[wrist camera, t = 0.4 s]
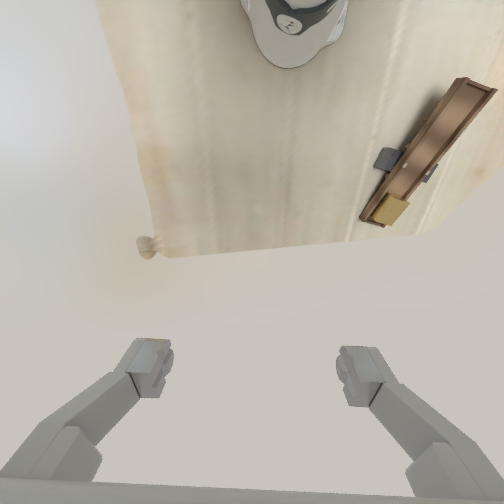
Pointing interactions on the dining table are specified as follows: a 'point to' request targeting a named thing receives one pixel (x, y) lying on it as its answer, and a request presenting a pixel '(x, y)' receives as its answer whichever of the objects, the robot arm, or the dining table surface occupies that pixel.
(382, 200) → the rider
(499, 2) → the dining table surface
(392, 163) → the fulcrum
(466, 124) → the beam
